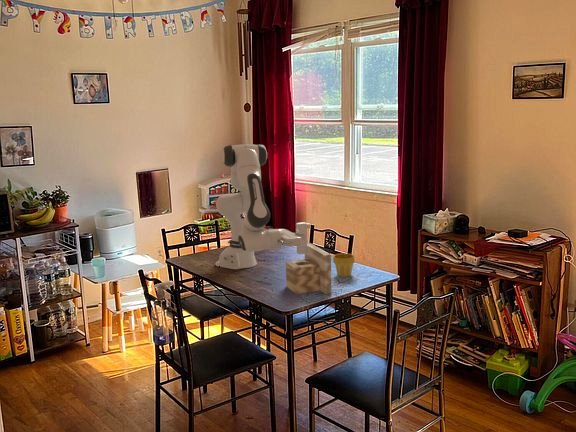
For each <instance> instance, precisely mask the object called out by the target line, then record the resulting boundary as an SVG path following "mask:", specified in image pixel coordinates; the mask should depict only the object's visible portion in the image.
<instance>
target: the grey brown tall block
mask: <svg viewBox="0 0 576 432" xmlns="http://www.w3.org/2000/svg"><path fill="white" fill-rule="evenodd" d="M308 229H311V223H309V222H305V221H304V222H296V223H295V233H296V235H297V236H301V235H305V236H306V239H302V240H301V241H302V244H301V245H300V246H296V254H298V255H305V254H306V253H307V243H308Z"/></svg>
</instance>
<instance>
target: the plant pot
mask: <svg viewBox="0 0 576 432" xmlns="http://www.w3.org/2000/svg"><path fill="white" fill-rule="evenodd" d="M333 264H334V265H335V269H336V270H335V271H336V275H337V276H338V277H341V278H344V277H345V278H346V277H351V275H352V271H353V267H354V264H355V255H354V254H352V253H344V252H343V253H337V254H335V255H333Z"/></svg>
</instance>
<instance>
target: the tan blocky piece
mask: <svg viewBox="0 0 576 432" xmlns="http://www.w3.org/2000/svg"><path fill="white" fill-rule="evenodd" d="M285 274H286V275H285V277H286V278H285V279H286V280H285V281H286V287H287V288H288V289H289V290H290V291H291V292H292V293H294V294H295V295H299V294H306V293H312V292H318V291H320V292H322V293H323V294H324V295H329V294H332V293H333V292H332V291H333V290H332V287H333V286H332V254H330V253H329V252H327V251H325V250H323V249H322V248H320V247H318V246H316V245H314V244H313V243H311V242H309V243H308V242H307V253H306V254H304V259H299V260H298V259H297V260H292V261H290V260H289V261H285Z"/></svg>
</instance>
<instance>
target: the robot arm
mask: <svg viewBox="0 0 576 432" xmlns="http://www.w3.org/2000/svg"><path fill="white" fill-rule="evenodd" d="M267 159H268V152H267V149H266V147H265V145H264V144H252V143H244V144H243V143H242V144H233V145H232V144H229V145H225V146H224V148H223V149H222V152H221V160H222V162H223V164H224V165H225V166H226V167H230V184H231V187H233V188H234V189H235V190H237V191H240V192H239V193H236V192H235V193H227V194H223V195H220V196H218V198H217V199H216V201H215V208H216V211H217V212H218V213H219V214H220V215H222V216H223V217H224V218H225V219H226V220H227V221H228V224H229V225H230V232H231V239H230V240H229V241H227V244H229V246H227V247H226V248H225V249H223V251H221V253H220V254H219V258H218V261H216V262H215V264H214V266H215V265H216V266H215V267H219V266H220V268H225V269H231V270H241V269H248V268H252V267H255V266H257V264H258V263H257V259H256V257H255V252H261V251H265V250H269V251H271V250H277V249H278V250H279V249H281V248H282V246H283V247H297V246H300V245H301V244H302V241H301V240H302V239H306V236H305V235H301V236H297V235H296V232H292V231H290V230H289V229H286V228H268V229H266V228H265V226H266V225H267V224H268V223H269V222H270V220H271V211H270V209H269V207H268V205H267V203H266V201H265V195H264V190H263V184H262V171H261V167H262V166H264V165H265V164H266V163H267ZM242 214H246V215H245V216H244V217H243V218H241V215H242Z"/></svg>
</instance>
